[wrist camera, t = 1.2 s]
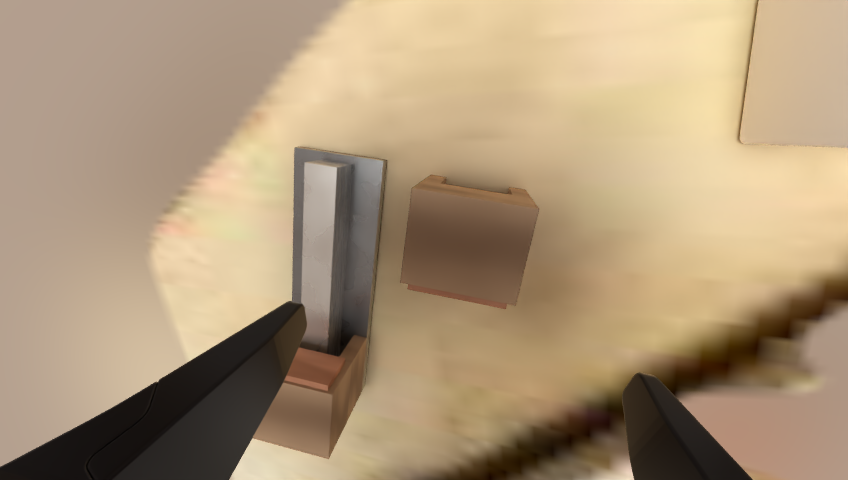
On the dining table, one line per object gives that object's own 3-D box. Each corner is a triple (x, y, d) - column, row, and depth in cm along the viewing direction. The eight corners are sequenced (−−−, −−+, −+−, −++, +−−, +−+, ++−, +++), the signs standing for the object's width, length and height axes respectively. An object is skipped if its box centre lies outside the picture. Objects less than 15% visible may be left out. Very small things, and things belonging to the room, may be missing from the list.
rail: (365, 384, 28) (350, 414, 25) (296, 368, 29) (273, 395, 26) (386, 160, 22) (371, 163, 19) (300, 146, 23) (272, 148, 20)
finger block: (507, 269, 23) (514, 312, 17) (420, 252, 24) (399, 289, 18) (525, 189, 21) (539, 209, 16) (430, 174, 22) (411, 188, 16)
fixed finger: (361, 391, 27) (328, 458, 22) (291, 374, 28) (241, 435, 22) (367, 333, 25) (333, 389, 20) (292, 316, 26) (238, 366, 21)
